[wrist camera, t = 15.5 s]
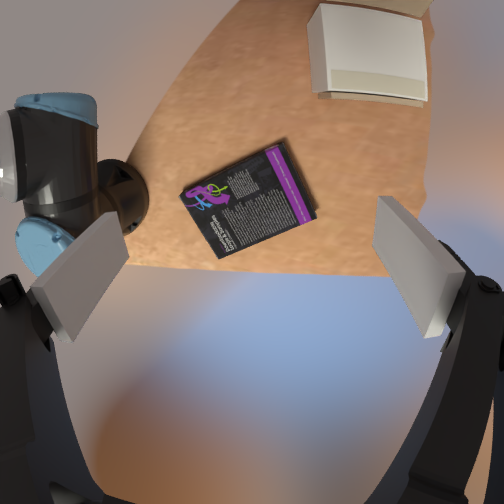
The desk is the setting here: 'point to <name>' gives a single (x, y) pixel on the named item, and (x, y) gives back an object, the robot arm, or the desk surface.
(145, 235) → the desk surface
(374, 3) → the flap
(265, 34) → the desk surface
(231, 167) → the box
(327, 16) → the carton
